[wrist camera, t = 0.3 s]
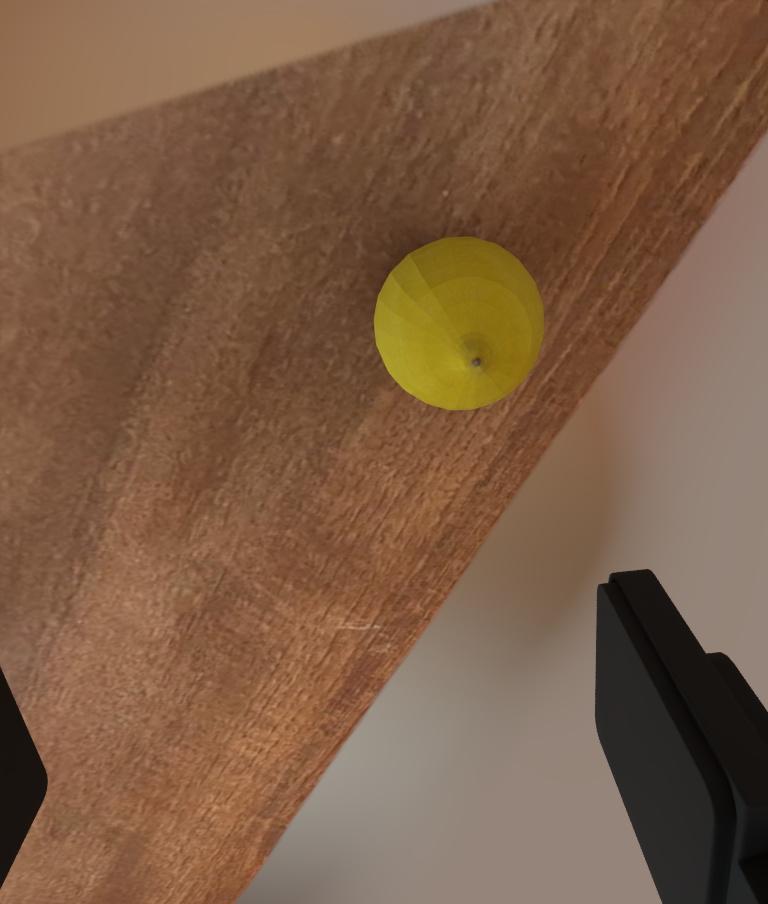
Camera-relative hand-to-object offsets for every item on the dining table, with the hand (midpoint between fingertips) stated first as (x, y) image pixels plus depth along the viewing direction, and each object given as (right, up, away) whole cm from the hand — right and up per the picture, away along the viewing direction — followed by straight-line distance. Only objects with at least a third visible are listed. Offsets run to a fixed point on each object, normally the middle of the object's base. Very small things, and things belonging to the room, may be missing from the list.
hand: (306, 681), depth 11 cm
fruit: (+4, +9, +16) cm, 19 cm away
